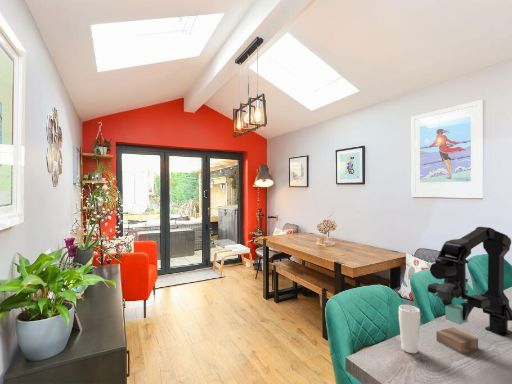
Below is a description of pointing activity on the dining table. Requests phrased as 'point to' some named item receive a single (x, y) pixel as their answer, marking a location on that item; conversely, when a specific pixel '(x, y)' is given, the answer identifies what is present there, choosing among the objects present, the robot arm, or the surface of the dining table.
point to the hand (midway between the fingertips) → (456, 317)
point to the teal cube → (454, 313)
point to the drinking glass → (409, 327)
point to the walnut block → (457, 340)
